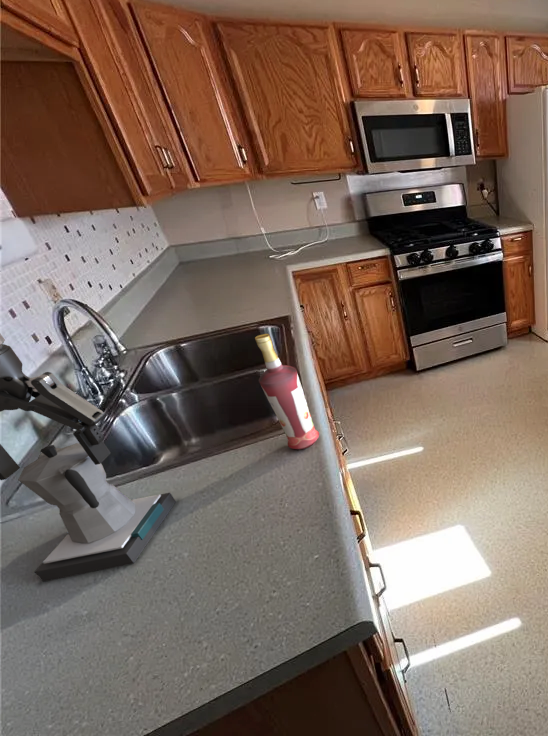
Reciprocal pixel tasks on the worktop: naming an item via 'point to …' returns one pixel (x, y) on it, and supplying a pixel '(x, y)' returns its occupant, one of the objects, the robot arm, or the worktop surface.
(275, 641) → the worktop surface
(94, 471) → the coffeepot
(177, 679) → the worktop surface
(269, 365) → the liquor
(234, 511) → the worktop surface
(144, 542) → the scale
